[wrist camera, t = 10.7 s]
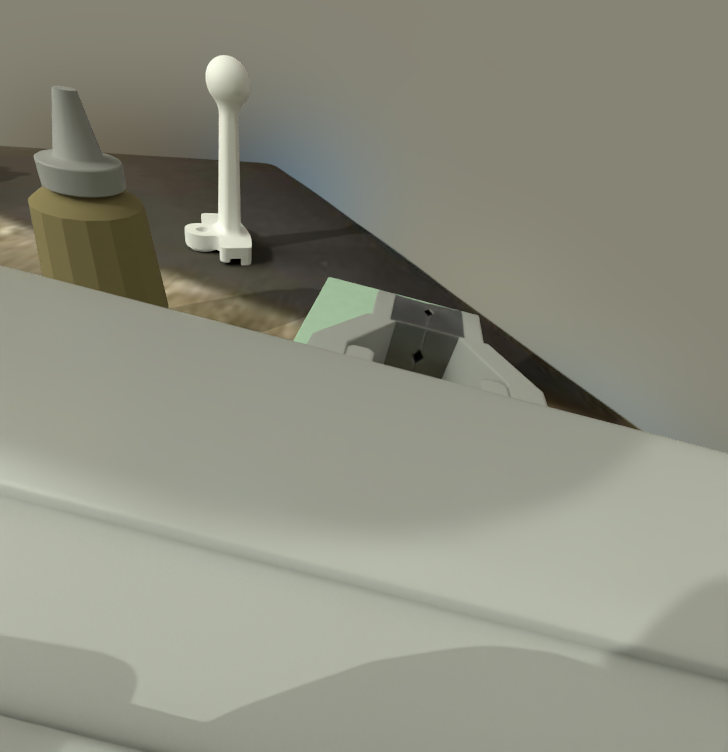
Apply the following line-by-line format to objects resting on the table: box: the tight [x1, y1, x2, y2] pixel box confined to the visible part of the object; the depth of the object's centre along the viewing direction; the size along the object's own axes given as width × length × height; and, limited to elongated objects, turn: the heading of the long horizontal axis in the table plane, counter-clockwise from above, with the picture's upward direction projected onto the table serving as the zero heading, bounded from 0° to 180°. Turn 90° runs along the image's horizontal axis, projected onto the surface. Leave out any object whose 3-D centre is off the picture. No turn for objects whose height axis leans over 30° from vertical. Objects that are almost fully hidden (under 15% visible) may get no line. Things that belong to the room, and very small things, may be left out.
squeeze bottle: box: [28, 86, 168, 308], centre depth 28 cm, size 8×8×18 cm
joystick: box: [185, 55, 252, 265], centre depth 46 cm, size 11×8×20 cm
